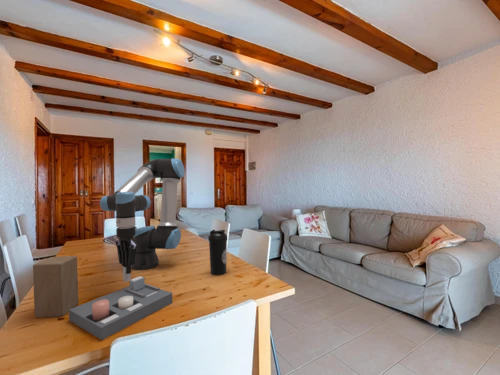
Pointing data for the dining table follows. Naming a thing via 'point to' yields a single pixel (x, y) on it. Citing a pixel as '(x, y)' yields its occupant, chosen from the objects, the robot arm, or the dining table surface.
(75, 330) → the dining table surface
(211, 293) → the dining table surface
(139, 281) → the slider knob
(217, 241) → the water bottle
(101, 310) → the button coral
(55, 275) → the wooden block
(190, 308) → the dining table surface
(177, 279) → the dining table surface
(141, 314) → the console
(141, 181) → the robot arm
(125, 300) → the button ivory
